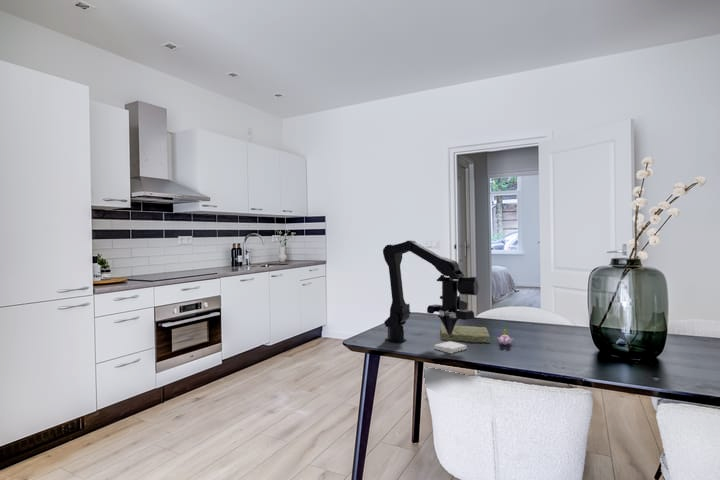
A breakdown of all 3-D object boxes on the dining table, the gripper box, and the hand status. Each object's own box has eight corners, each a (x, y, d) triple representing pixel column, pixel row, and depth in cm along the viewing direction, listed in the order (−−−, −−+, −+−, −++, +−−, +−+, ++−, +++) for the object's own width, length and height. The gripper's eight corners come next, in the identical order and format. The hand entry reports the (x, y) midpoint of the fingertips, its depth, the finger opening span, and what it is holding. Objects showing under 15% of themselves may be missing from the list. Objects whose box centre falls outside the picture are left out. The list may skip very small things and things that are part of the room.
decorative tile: (440, 331, 187) (440, 323, 187) (486, 333, 183) (486, 325, 183) (440, 342, 169) (440, 333, 169) (491, 344, 165) (491, 335, 165)
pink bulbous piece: (497, 342, 171) (495, 345, 157) (498, 328, 172) (495, 329, 158) (513, 344, 169) (512, 347, 155) (513, 329, 170) (512, 331, 156)
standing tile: (434, 344, 157) (451, 349, 151) (450, 341, 163) (466, 345, 156) (434, 350, 157) (451, 354, 151) (450, 346, 163) (466, 350, 156)
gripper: (483, 294, 154) (483, 335, 154) (445, 289, 169) (445, 327, 169) (464, 297, 147) (464, 340, 148) (426, 291, 162) (426, 331, 162)
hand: (449, 334), depth 157 cm, fingers closed
